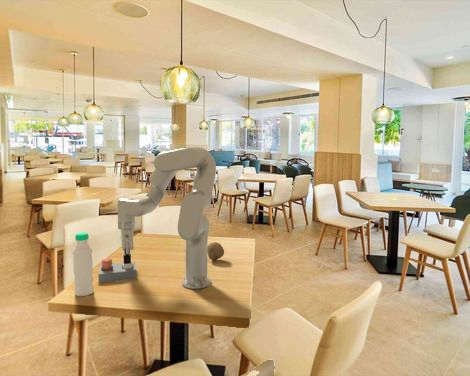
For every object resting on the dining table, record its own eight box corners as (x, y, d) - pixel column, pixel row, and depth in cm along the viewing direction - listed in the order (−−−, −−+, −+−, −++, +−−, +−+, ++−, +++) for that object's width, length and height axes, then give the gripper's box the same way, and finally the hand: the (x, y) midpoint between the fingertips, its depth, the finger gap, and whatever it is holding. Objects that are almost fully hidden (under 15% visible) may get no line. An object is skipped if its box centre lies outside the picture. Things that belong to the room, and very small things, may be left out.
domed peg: (132, 273, 155) (132, 264, 154) (123, 274, 154) (122, 265, 153) (132, 270, 159) (132, 261, 159) (122, 271, 158) (122, 262, 157)
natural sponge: (224, 258, 182) (224, 240, 181) (223, 263, 173) (223, 245, 172) (207, 257, 182) (208, 239, 181) (206, 263, 173) (206, 244, 172)
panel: (136, 278, 152) (136, 270, 152) (98, 282, 147) (98, 274, 146) (135, 269, 163) (134, 261, 163) (99, 272, 158) (99, 264, 157)
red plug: (112, 270, 152) (111, 261, 151) (101, 271, 150) (101, 262, 150) (112, 267, 156) (112, 258, 155) (102, 268, 154) (101, 259, 154)
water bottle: (88, 287, 142) (86, 230, 138) (96, 292, 137) (94, 233, 134) (71, 293, 136) (68, 233, 133) (79, 298, 132) (77, 237, 129)
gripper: (135, 228, 148) (136, 268, 150) (134, 220, 162) (134, 257, 164) (117, 229, 145) (118, 269, 148) (117, 221, 159) (118, 258, 162)
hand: (127, 263), depth 156 cm, fingers closed
